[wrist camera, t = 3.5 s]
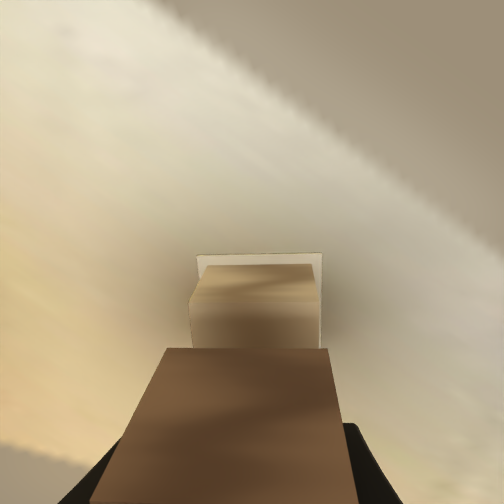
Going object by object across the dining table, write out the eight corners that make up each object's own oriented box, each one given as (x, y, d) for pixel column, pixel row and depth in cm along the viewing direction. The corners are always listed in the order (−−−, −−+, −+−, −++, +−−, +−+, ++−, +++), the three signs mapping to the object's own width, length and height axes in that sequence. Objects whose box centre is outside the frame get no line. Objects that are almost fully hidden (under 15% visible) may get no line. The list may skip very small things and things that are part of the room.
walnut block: (327, 348, 11) (360, 511, 7) (324, 471, 13) (349, 673, 8) (167, 347, 12) (89, 500, 7) (184, 467, 13) (130, 656, 9)
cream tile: (321, 252, 17) (322, 253, 17) (320, 360, 19) (320, 362, 19) (197, 255, 18) (196, 255, 18) (207, 360, 20) (207, 361, 20)
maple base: (311, 263, 18) (319, 301, 14) (310, 353, 19) (318, 409, 15) (207, 265, 18) (188, 302, 14) (215, 353, 20) (199, 407, 16)
